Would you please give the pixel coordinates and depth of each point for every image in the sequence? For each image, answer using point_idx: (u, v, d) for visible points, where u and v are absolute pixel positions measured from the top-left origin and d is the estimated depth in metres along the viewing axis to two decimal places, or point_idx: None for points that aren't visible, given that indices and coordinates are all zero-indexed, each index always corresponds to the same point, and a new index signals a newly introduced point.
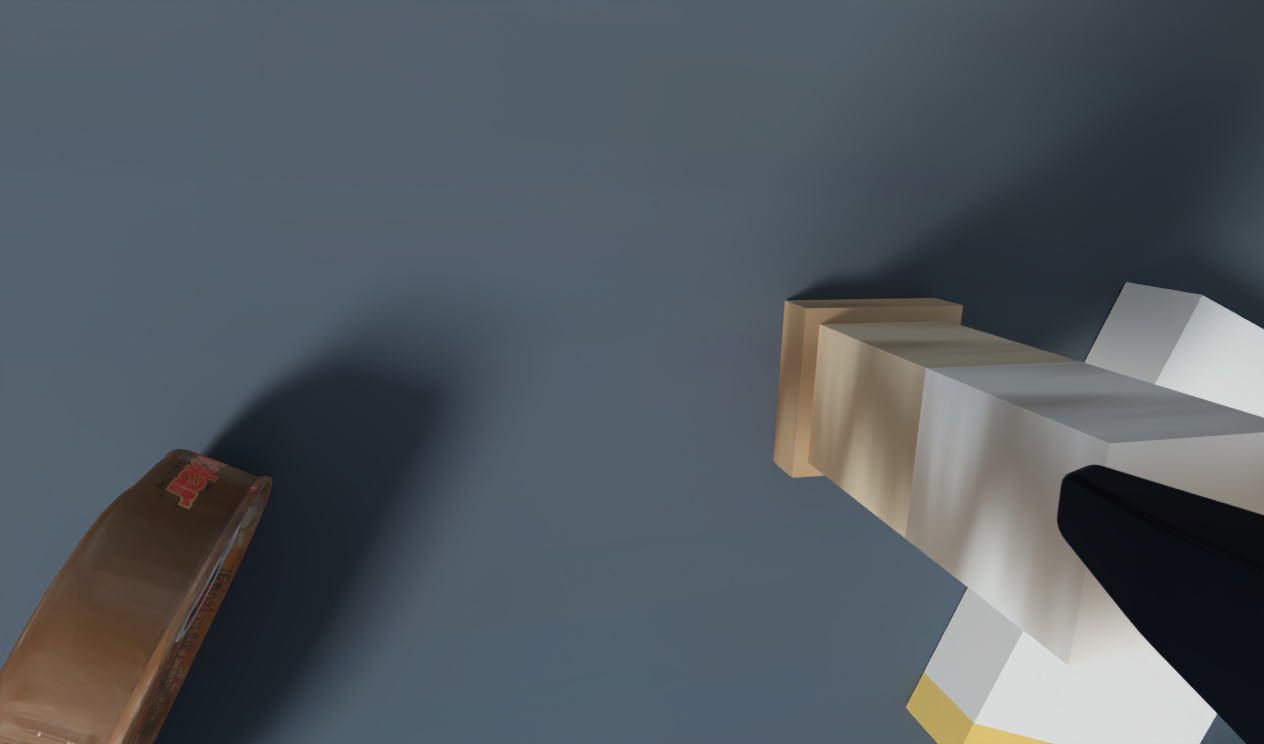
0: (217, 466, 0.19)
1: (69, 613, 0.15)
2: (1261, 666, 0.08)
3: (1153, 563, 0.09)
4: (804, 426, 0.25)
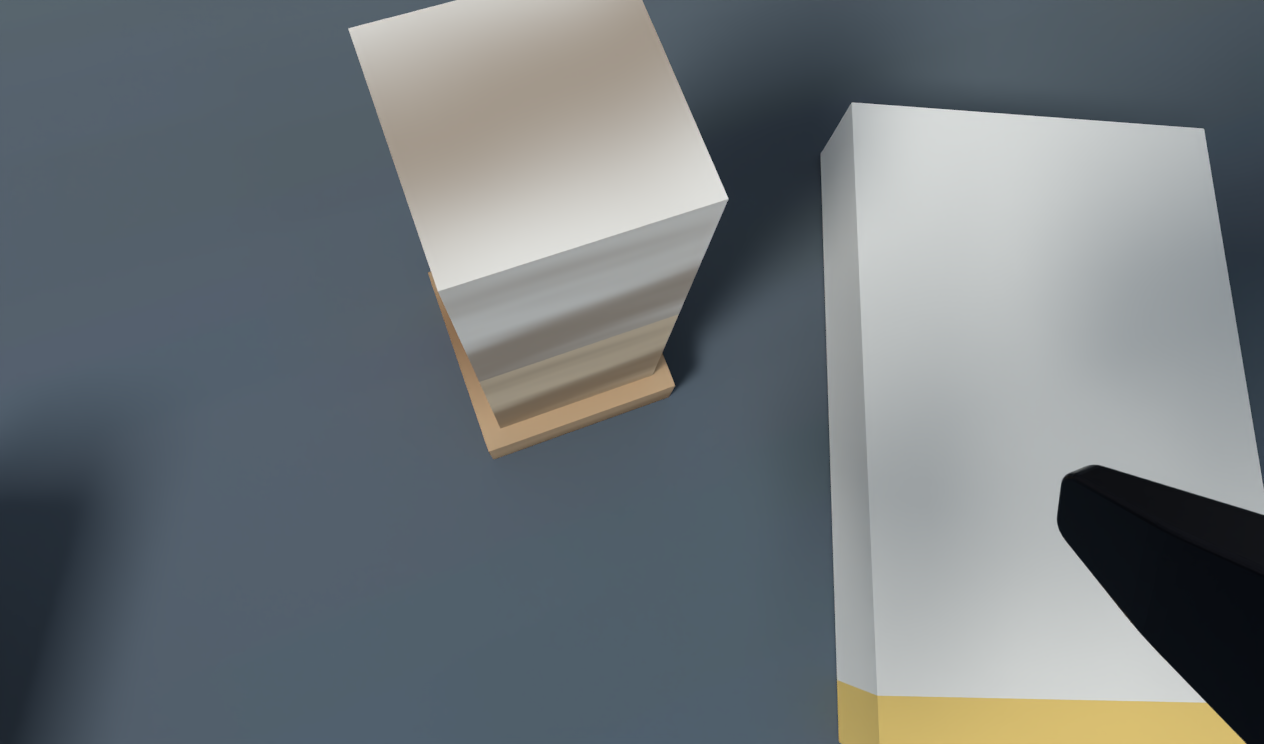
0: None
1: None
2: (1261, 666, 0.08)
3: (1153, 563, 0.09)
4: (479, 391, 0.22)
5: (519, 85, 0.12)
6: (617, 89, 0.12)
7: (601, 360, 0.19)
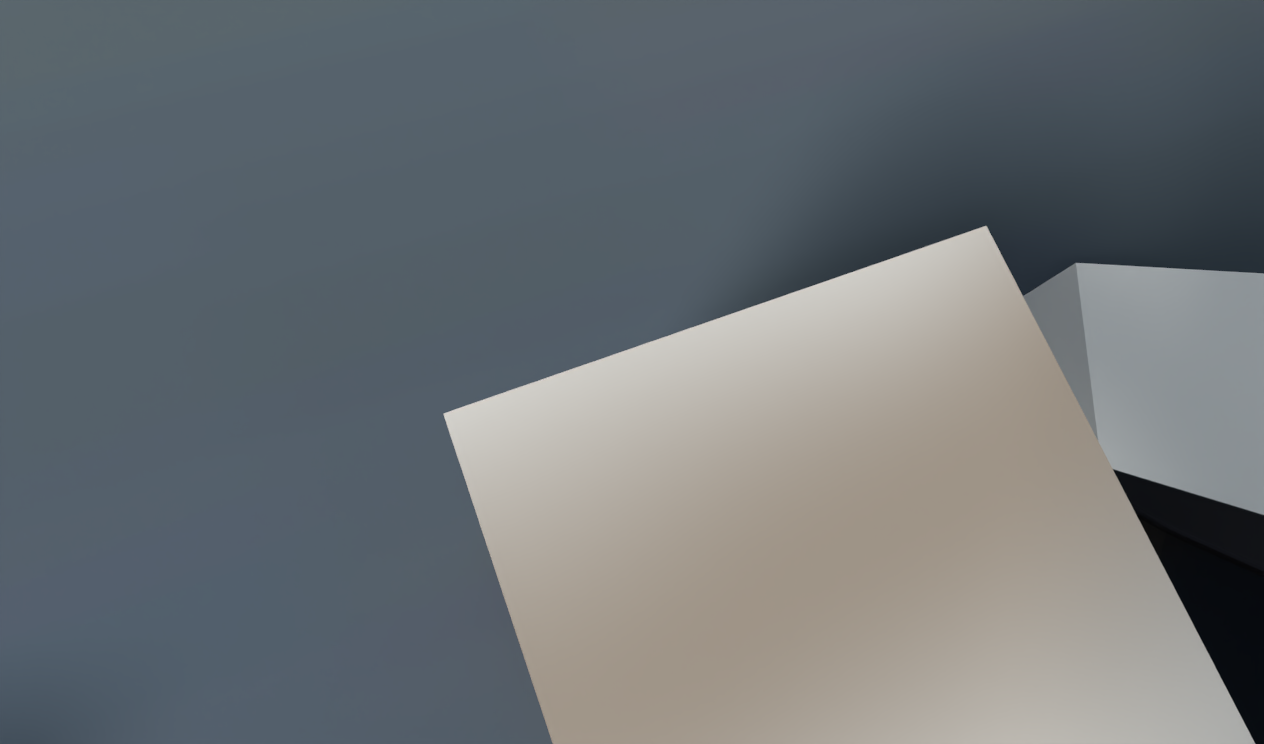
0: None
1: None
2: (1261, 666, 0.08)
3: None
4: None
5: (812, 535, 0.06)
6: (1014, 533, 0.06)
7: None
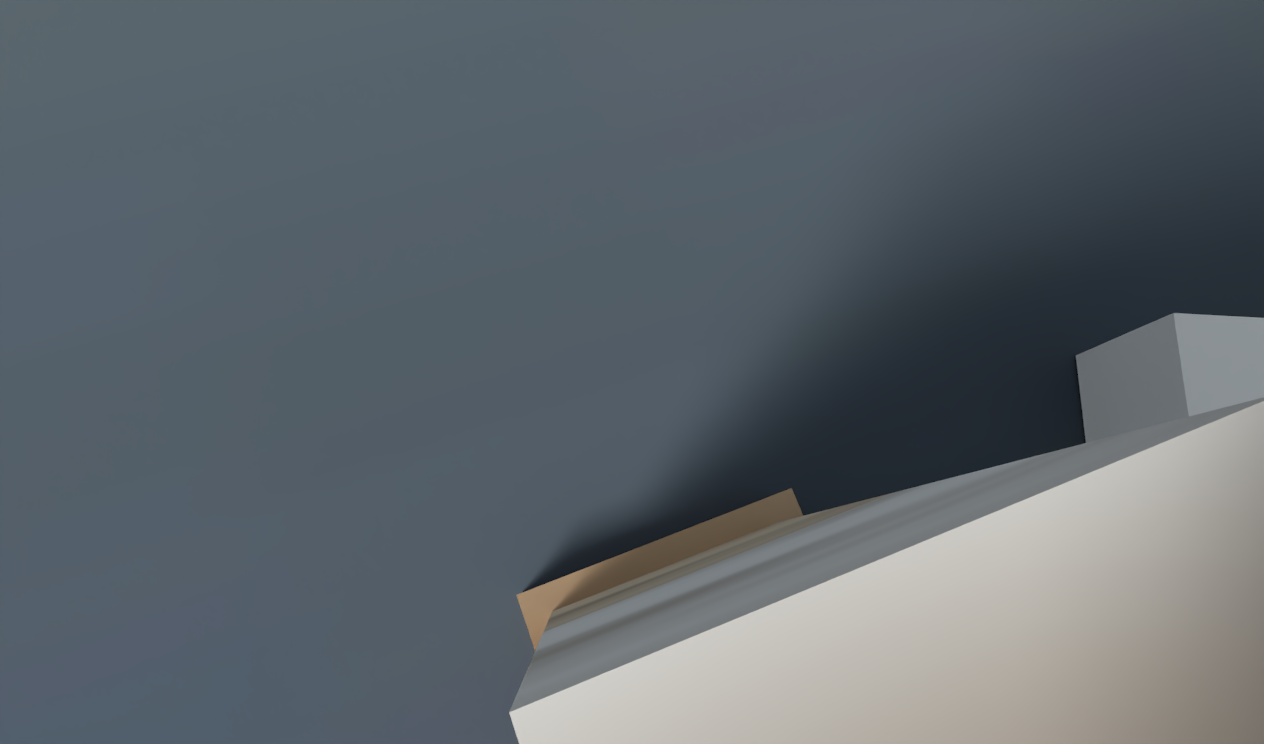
0: None
1: None
2: None
3: None
4: None
5: None
6: None
7: None
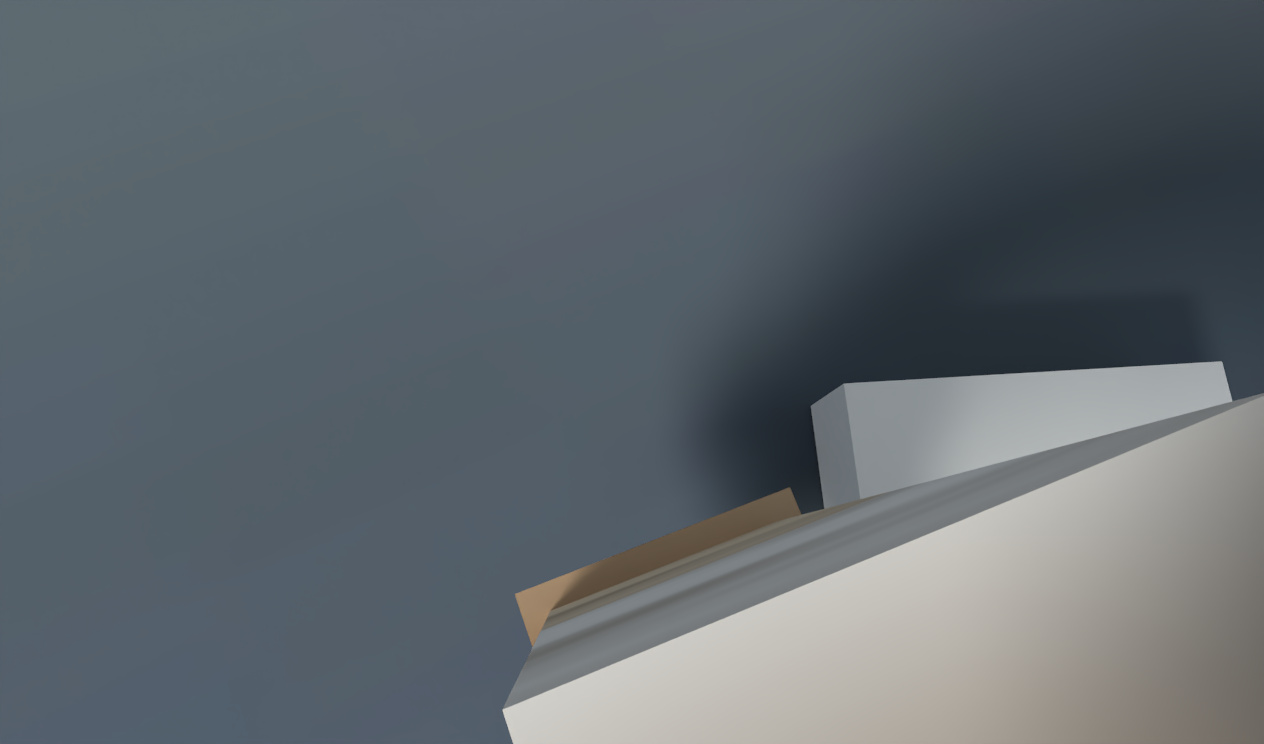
0: None
1: None
2: None
3: None
4: None
5: None
6: None
7: None
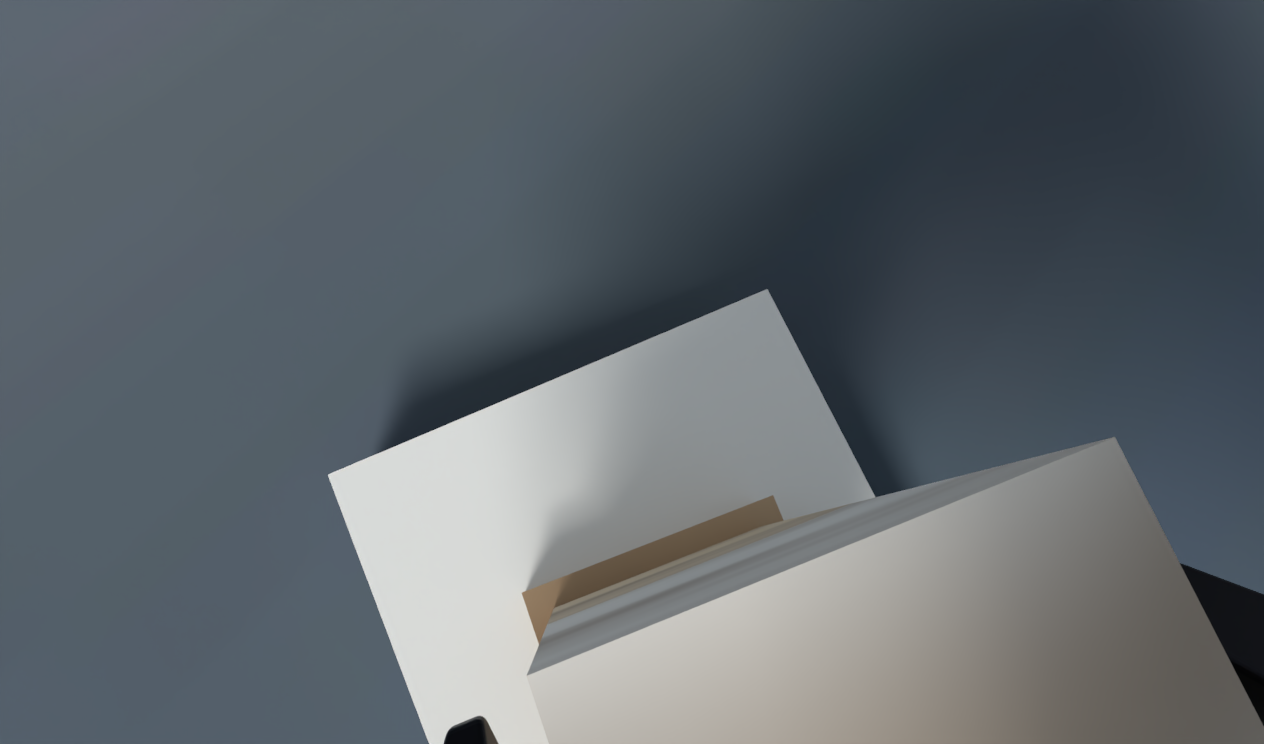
0: None
1: None
2: None
3: None
4: None
5: None
6: None
7: None
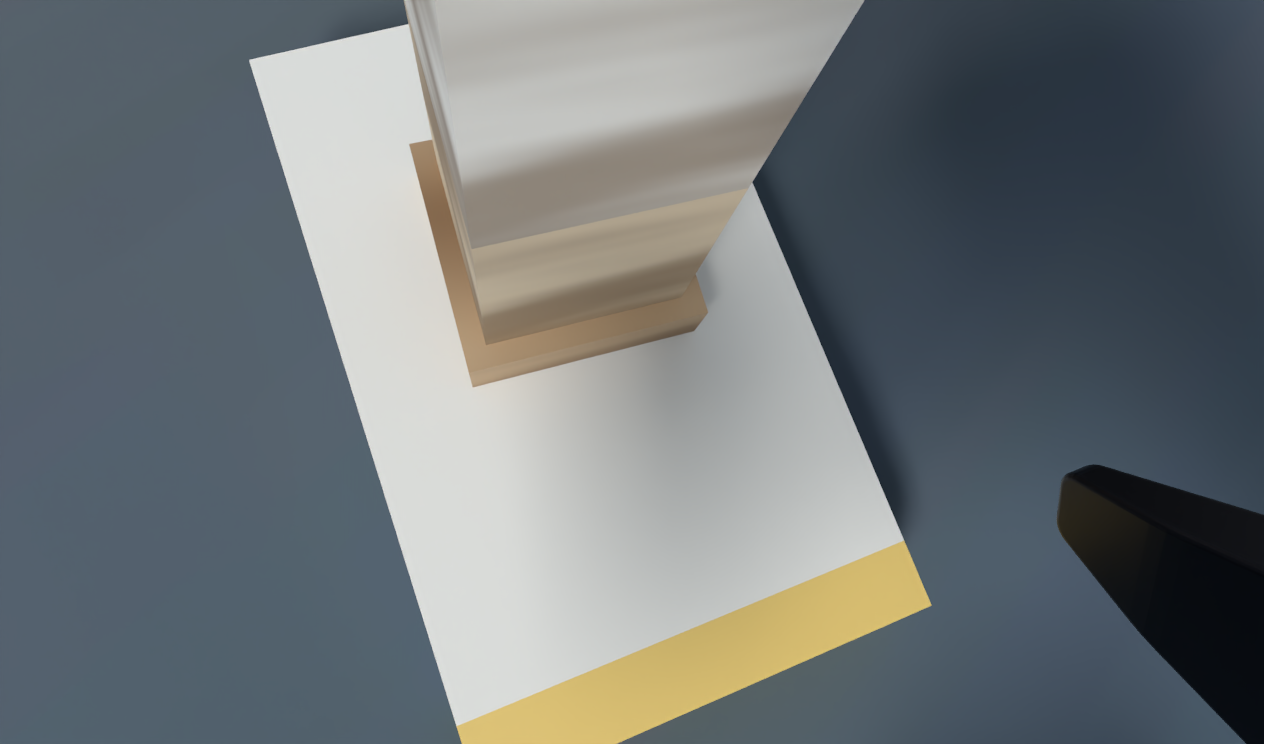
0: None
1: None
2: (1261, 666, 0.08)
3: (1153, 563, 0.09)
4: (462, 295, 0.17)
5: None
6: None
7: (632, 252, 0.14)
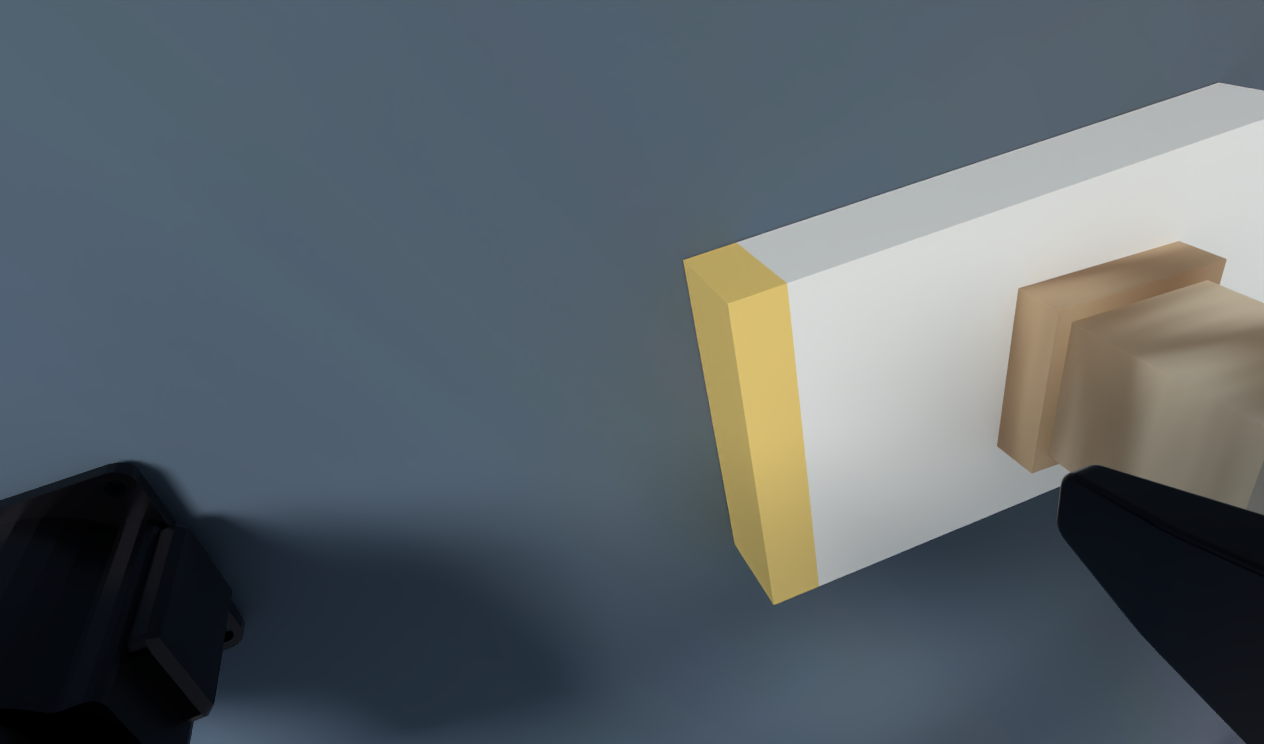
0: None
1: None
2: (1261, 666, 0.08)
3: (1153, 563, 0.09)
4: (1111, 303, 0.21)
5: None
6: None
7: (1171, 485, 0.20)
